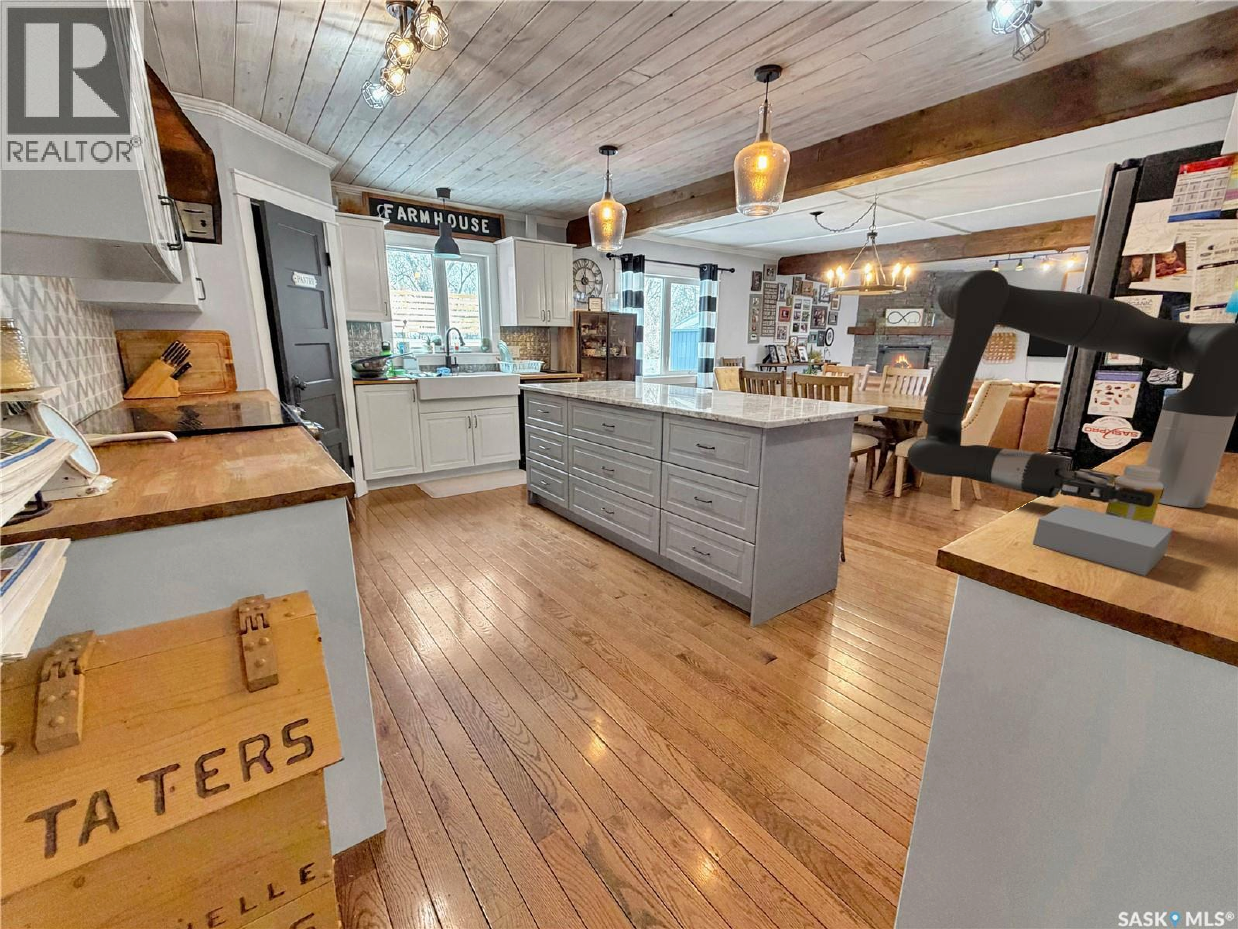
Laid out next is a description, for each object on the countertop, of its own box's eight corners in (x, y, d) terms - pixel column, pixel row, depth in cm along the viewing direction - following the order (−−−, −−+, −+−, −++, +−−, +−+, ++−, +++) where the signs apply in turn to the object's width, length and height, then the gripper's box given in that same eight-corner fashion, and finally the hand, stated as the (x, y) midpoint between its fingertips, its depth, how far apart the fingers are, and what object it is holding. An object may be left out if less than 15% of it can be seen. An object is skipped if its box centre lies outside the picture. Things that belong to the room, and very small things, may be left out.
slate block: (1059, 528, 82) (1065, 504, 81) (1164, 555, 72) (1173, 529, 71) (1032, 544, 75) (1038, 518, 74) (1144, 576, 65) (1154, 547, 64)
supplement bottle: (1151, 529, 82) (1170, 469, 79) (1147, 537, 79) (1166, 474, 76) (1105, 519, 86) (1121, 461, 84) (1099, 526, 83) (1116, 466, 80)
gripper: (1017, 457, 87) (1155, 481, 74) (1046, 448, 95) (1174, 468, 82) (1008, 497, 89) (1140, 528, 76) (1036, 485, 97) (1161, 511, 84)
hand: (1157, 497), depth 79 cm, fingers closed on supplement bottle, 5 cm apart
